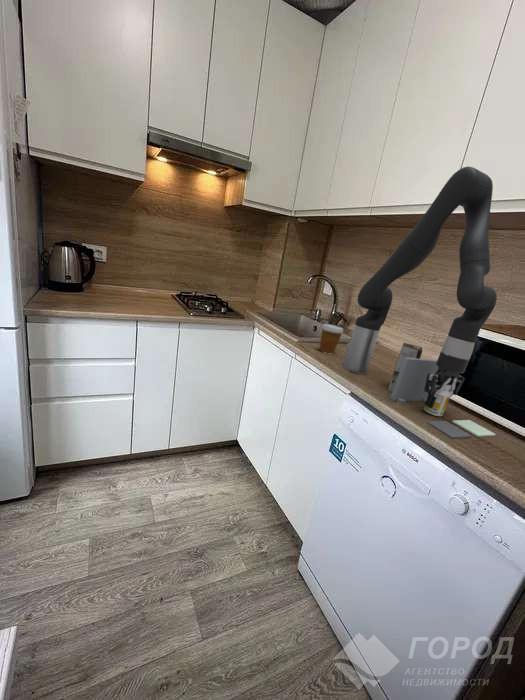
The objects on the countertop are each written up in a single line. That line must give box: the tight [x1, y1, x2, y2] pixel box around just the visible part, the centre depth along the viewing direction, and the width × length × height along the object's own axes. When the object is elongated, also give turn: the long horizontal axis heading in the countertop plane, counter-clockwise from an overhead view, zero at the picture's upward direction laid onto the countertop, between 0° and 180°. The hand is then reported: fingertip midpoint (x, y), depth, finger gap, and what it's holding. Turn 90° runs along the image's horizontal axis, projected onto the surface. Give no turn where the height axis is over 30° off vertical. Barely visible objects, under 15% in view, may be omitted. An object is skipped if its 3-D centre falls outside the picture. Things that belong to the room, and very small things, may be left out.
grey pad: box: [426, 420, 473, 440], centre depth 90 cm, size 8×8×1 cm
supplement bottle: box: [423, 383, 451, 417], centre depth 99 cm, size 5×5×10 cm
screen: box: [388, 358, 438, 405], centre depth 106 cm, size 5×16×14 cm, turn 114°
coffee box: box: [387, 342, 423, 392], centre depth 114 cm, size 9×6×16 cm
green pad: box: [451, 419, 497, 437], centre depth 95 cm, size 8×8×1 cm
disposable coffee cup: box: [319, 323, 344, 353], centre depth 147 cm, size 10×10×12 cm
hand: (435, 406), depth 100 cm, fingers closed on supplement bottle, 5 cm apart
